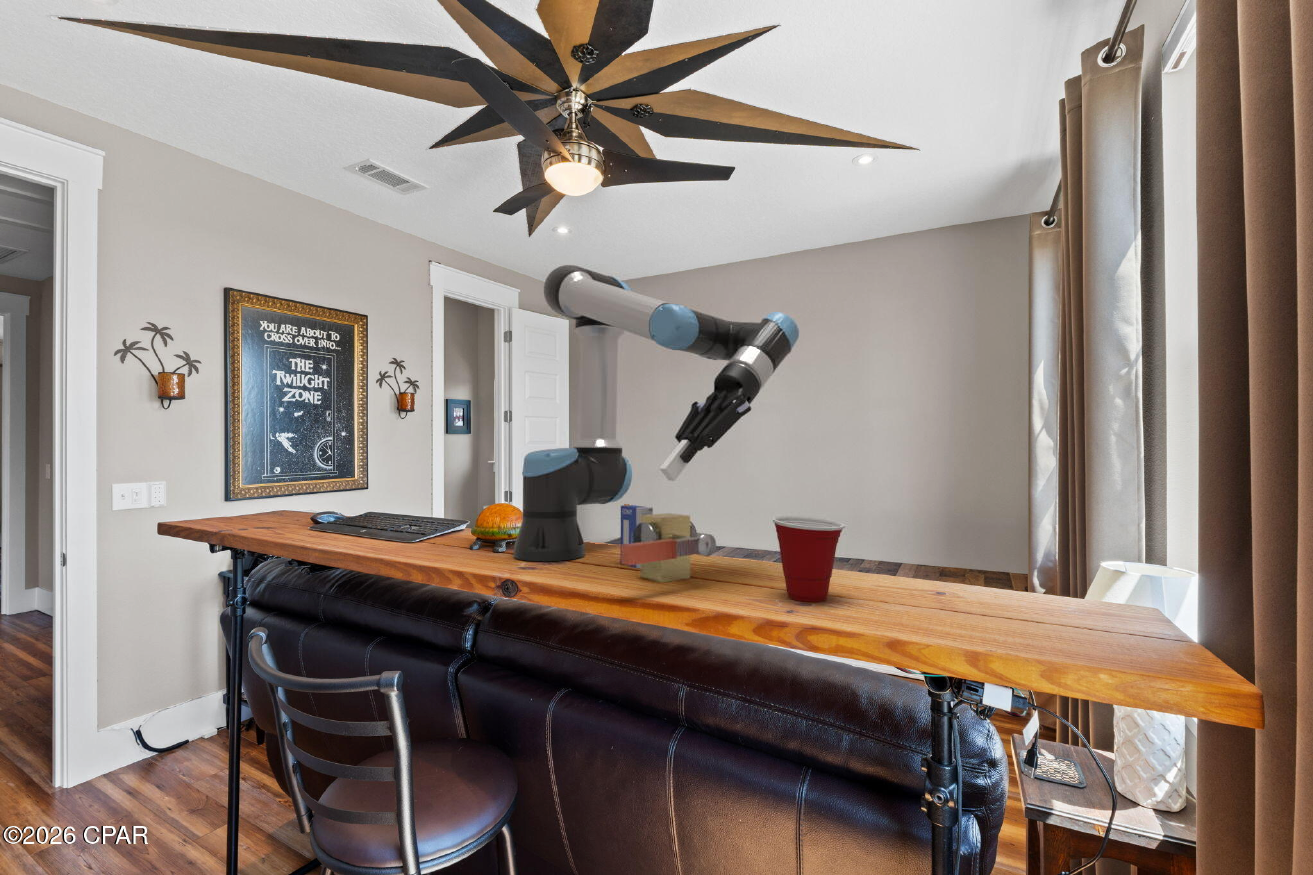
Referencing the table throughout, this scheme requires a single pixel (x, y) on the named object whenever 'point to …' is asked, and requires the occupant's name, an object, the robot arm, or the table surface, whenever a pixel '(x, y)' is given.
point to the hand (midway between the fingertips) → (667, 474)
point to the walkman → (631, 523)
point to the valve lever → (667, 549)
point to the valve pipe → (663, 529)
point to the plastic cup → (807, 555)
